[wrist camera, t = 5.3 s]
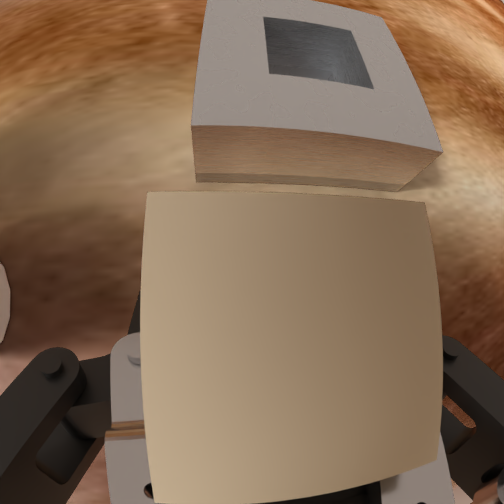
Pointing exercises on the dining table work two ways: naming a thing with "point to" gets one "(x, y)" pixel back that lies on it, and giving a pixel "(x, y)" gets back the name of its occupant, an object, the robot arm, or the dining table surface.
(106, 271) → the dining table surface
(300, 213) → the square wooden peg
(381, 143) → the grey square socket block
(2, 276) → the white cup
